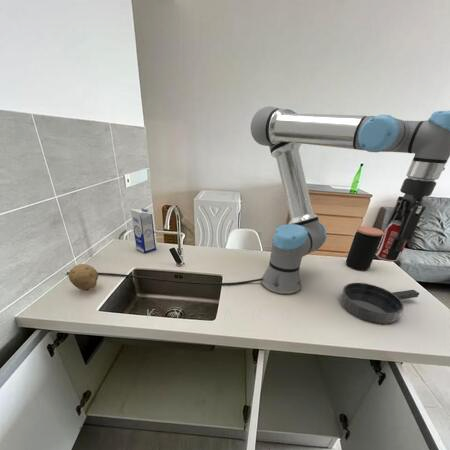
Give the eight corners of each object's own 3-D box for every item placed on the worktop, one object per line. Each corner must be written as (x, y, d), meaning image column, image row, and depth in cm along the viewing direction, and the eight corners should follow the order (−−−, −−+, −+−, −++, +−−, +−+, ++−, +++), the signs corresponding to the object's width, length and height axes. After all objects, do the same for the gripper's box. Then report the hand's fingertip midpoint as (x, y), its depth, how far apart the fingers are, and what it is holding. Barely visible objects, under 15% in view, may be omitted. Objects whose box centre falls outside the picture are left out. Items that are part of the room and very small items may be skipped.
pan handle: (392, 301, 88) (394, 296, 87) (386, 297, 90) (388, 293, 89) (417, 297, 91) (419, 293, 90) (411, 293, 93) (413, 289, 93)
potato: (81, 282, 93) (74, 258, 88) (105, 283, 93) (99, 259, 88) (68, 295, 85) (60, 270, 80) (94, 296, 85) (87, 271, 80)
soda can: (400, 264, 77) (418, 227, 71) (378, 261, 78) (393, 224, 72) (393, 255, 83) (409, 220, 76) (371, 252, 84) (386, 218, 77)
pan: (366, 328, 78) (371, 317, 75) (328, 295, 94) (332, 285, 91) (411, 320, 83) (417, 309, 80) (368, 289, 99) (372, 280, 96)
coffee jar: (374, 270, 114) (389, 233, 105) (355, 272, 111) (369, 234, 102) (357, 260, 123) (370, 225, 113) (340, 262, 120) (352, 226, 111)
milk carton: (136, 249, 121) (130, 208, 110) (147, 245, 125) (143, 206, 115) (144, 253, 117) (139, 211, 107) (156, 249, 121) (152, 209, 111)
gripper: (455, 186, 59) (411, 269, 71) (421, 175, 75) (390, 245, 87) (420, 183, 60) (383, 265, 72) (394, 173, 76) (368, 242, 88)
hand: (387, 254), depth 80 cm, fingers closed on soda can, 7 cm apart
